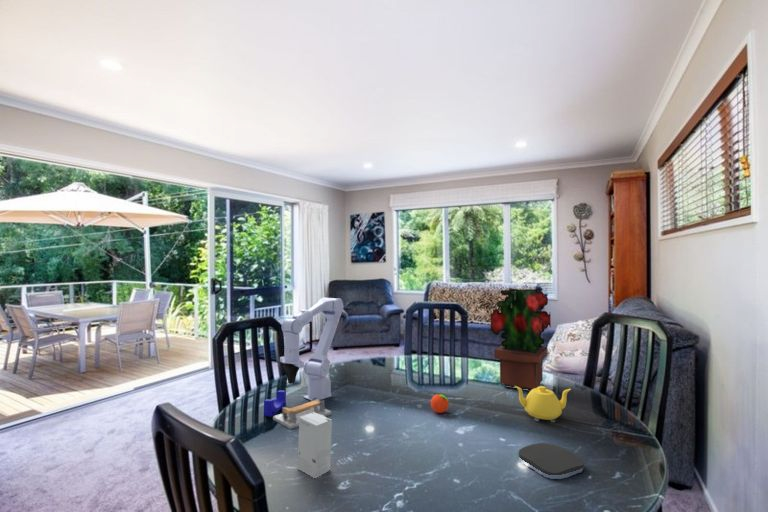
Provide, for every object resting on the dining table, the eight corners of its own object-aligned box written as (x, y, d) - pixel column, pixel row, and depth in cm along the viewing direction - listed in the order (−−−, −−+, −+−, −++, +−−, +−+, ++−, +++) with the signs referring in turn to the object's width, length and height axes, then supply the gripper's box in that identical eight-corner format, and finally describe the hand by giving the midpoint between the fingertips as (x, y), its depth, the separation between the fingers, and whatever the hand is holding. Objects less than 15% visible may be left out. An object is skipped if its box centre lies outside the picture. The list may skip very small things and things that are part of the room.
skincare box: (296, 469, 110) (296, 417, 110) (313, 461, 114) (313, 410, 114) (316, 480, 104) (315, 425, 104) (332, 470, 109) (332, 417, 109)
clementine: (454, 412, 149) (454, 394, 149) (444, 418, 144) (444, 399, 144) (437, 407, 155) (437, 389, 155) (427, 412, 150) (427, 394, 150)
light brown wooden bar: (317, 402, 154) (317, 397, 154) (322, 404, 151) (322, 400, 151) (284, 413, 143) (284, 408, 143) (289, 415, 140) (289, 411, 140)
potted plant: (551, 383, 184) (550, 289, 185) (542, 397, 166) (541, 292, 166) (504, 376, 196) (503, 287, 197) (491, 388, 177) (490, 290, 178)
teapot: (565, 410, 151) (565, 381, 151) (576, 427, 136) (576, 394, 136) (511, 407, 155) (511, 378, 155) (517, 422, 140) (516, 391, 140)
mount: (312, 406, 157) (312, 394, 157) (331, 414, 149) (331, 402, 149) (272, 419, 144) (272, 407, 144) (290, 429, 136) (290, 416, 136)
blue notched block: (275, 404, 160) (275, 390, 160) (285, 405, 159) (285, 390, 159) (260, 416, 148) (260, 400, 148) (271, 416, 147) (271, 401, 147)
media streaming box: (551, 484, 102) (551, 472, 102) (512, 458, 116) (512, 448, 116) (590, 471, 108) (590, 461, 108) (549, 448, 122) (549, 439, 122)
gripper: (273, 347, 157) (272, 381, 157) (293, 353, 147) (292, 389, 147) (288, 344, 162) (288, 377, 162) (308, 350, 152) (308, 385, 152)
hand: (291, 382), depth 154 cm, fingers closed
